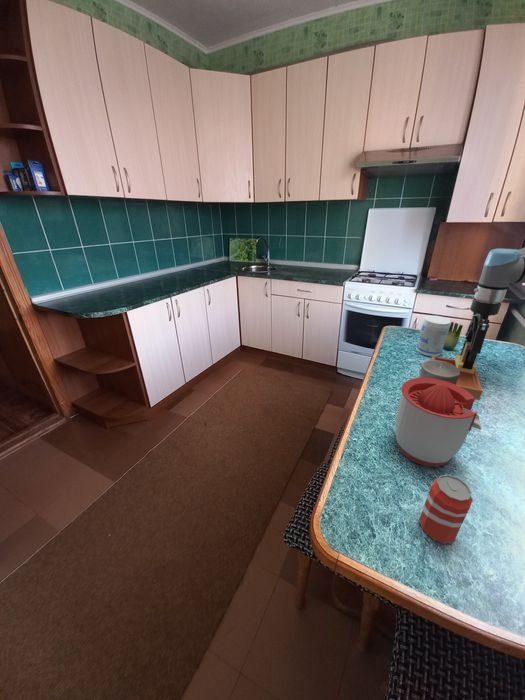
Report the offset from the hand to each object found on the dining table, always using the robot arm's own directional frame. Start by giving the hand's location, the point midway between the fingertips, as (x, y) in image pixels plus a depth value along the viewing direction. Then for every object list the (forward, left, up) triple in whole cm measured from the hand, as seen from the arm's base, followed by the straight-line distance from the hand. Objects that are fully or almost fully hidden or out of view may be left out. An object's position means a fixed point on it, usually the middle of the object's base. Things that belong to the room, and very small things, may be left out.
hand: (465, 362), depth 102 cm
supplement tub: (+10, -16, -6) cm, 20 cm away
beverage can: (+9, +66, -6) cm, 67 cm away
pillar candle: (+10, +24, -6) cm, 27 cm away
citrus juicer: (+11, +45, -6) cm, 47 cm away
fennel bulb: (+3, -23, -6) cm, 24 cm away
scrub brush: (0, 0, -2) cm, 2 cm away
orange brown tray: (+3, +4, -6) cm, 7 cm away
